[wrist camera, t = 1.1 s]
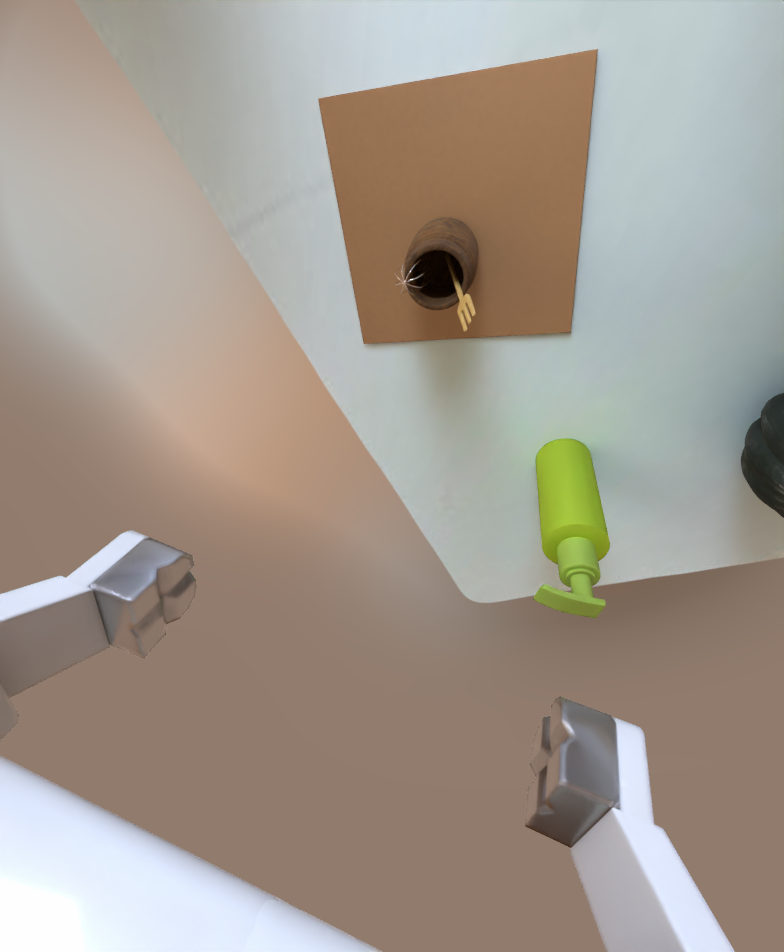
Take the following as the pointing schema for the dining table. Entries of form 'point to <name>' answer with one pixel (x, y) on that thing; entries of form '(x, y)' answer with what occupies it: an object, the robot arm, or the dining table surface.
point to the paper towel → (466, 192)
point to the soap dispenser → (571, 525)
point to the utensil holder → (442, 266)
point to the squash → (766, 455)
